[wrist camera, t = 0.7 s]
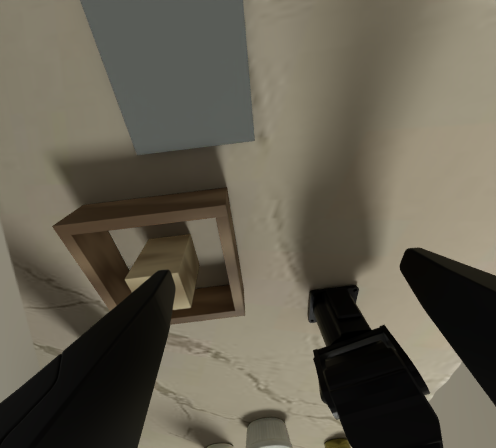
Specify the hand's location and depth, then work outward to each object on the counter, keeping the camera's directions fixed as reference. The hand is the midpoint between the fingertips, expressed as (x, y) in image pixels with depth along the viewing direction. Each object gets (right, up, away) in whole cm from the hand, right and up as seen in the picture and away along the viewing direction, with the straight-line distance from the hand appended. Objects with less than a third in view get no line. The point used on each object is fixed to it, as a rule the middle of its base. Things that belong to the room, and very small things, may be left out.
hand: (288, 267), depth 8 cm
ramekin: (+3, -48, +44) cm, 66 cm away
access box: (-10, -2, +16) cm, 19 cm away
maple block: (-10, -2, +16) cm, 19 cm away
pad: (-6, +13, +8) cm, 16 cm away
